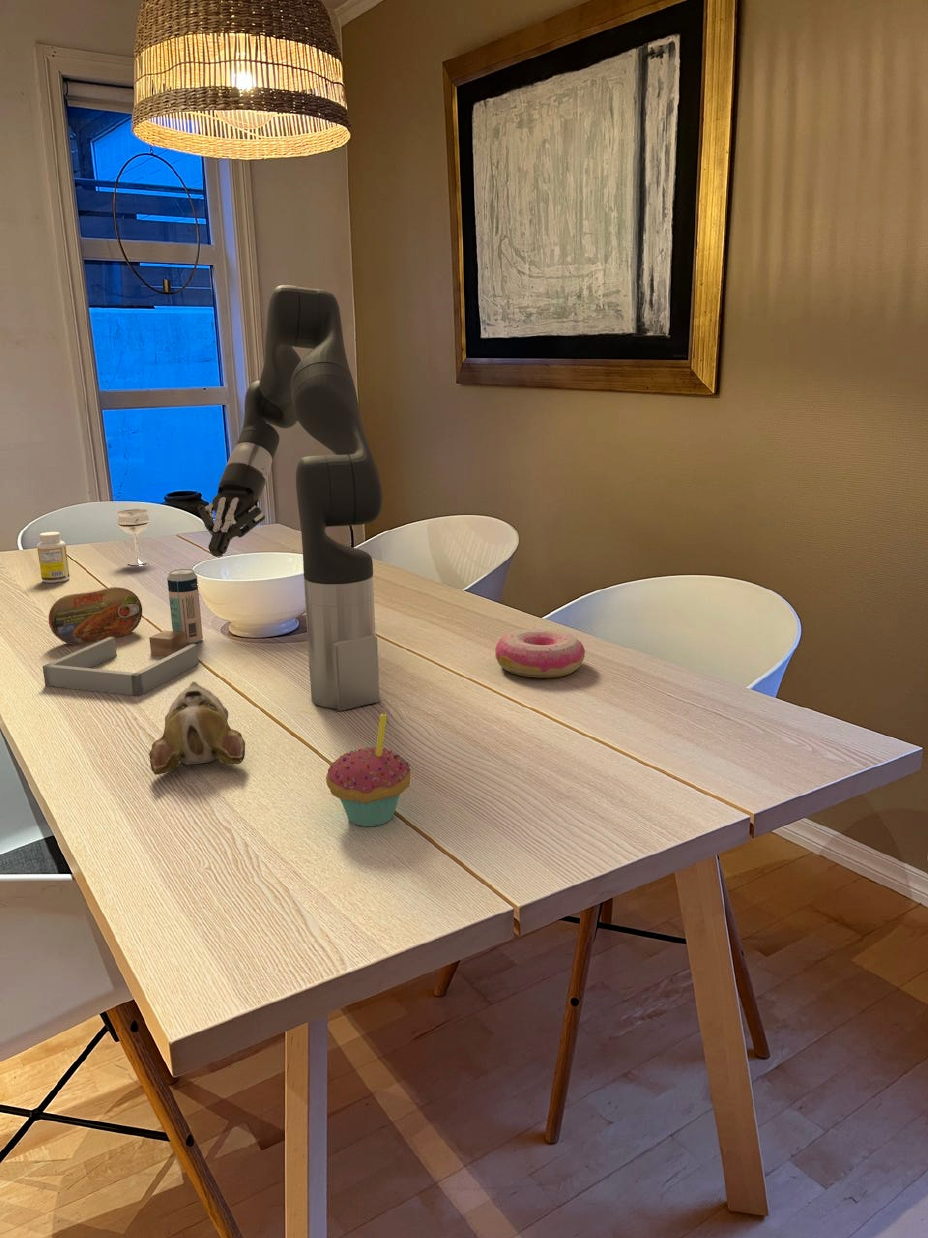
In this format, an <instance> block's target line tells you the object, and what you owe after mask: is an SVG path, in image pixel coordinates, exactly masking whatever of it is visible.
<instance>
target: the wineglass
mask: <svg viewBox="0 0 928 1238" xmlns="http://www.w3.org/2000/svg"><path fill="white" fill-rule="evenodd" d="M148 512H149V510H148V509H146V508H145V509H142V508H136V509H124V510H123V509H122V510H120V511H117V515H118V518H117V523H118V526H119V528H120V529H121V530H122V531H124V532H125V533H127V534H130V535H131V536H132V537H133V542H134V543H133V544H134V548H135V555H136V559H135V560H133V561H130V562H131V563H133V564H142V563H145V562H146V561H147V560H143V559H140V558H139V545H138V543H139V540H138V537H139V535H140V534H141V533H143V532H144V531H145V530H146V529H147V528H148V526H149V524H150V517H149V516H148V515H147V514H148Z"/></svg>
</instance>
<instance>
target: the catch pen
mask: <svg viewBox="0 0 928 1238" xmlns="http://www.w3.org/2000/svg"><path fill="white" fill-rule="evenodd" d="M116 645H117V644H116V637H108V638H106V639H104V640H100V641H96V642H93V643H92V644H90V645H88V646H85V647H83V648H81V649H79V650H76V651H75V652H71V653H70V654H67V655H65V656H63V657H60V658H59V659H56V660H54V661H51V662H49V663H47V664H45V665H42V672H43V680H44V686H45V687H51V686H55V687H54V688H61V687H65V688H64V689H70V688H72V689H71V690H79V689H81V691H87V692H88V691H89V692H91V691H92V692H98V693H109V694H118V695H125V696H126V695H127V696H135V697H136V696H137V697H140V696H142V695H144V694H146V693H148V692H149V691H152V690H153V689H155V688H157V687H158V686H160V685H162V684H164V683H165V682H167V681H169V680H172V679H173V678H175V677H176V676H178V675H181V674H182V673H184V672H186V671H187V670H189V669H190V668H193V667H194V666H196V665H198V664H199V663H200V662H199V651H198V644H196V643H195V644H191V645H187V647H185V648H183V649H181V650H179V651H177V652H175V653H173V654H171V655H169V656H165V657H163V658H162V659H159V660H158V661H156V662H154V663H152V664H150V665H147V666H146V667H144V668H142V669H141V670H138V671H137V672H128V671H119V670H109V669H100V668H93V667H96V666H97V665H99V664H102V663H104V662H106V661H108V660H110V659H113V658H114V657H116V656H118V655H117V654H118V653H117V646H116Z"/></svg>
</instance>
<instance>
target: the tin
mask: <svg viewBox="0 0 928 1238" xmlns="http://www.w3.org/2000/svg"><path fill="white" fill-rule="evenodd" d="M142 616H143V605H142V601H141V600H140V598H139V596H138V595H136V593H135V592H133V591H132V590H130V589H127V588H124V587H119V586H118V587H116V586H114V587H112V586H111V587H106V588H100V589H96V590H90V591H85V592H80V593H78V592H77V593H72V594H68V595H64V596H62V597H60V598H59V599H57V600H56V601H55V602H54V603H53V605H52V606H51V608H50V610H49V613H48V625H49V628H50V630H51V632H52V634H54V636H56V638H58V639H59V640H60V641H61V642H64V643H65V644H67V645H70V646H71V645H72V646H81V645H87V644H91V643H96V642H99V641H101V640H104V639H106V638H108V637H115V638H120V637H123V636H126V635H129V634H130V633H132V632H133V631H134V630H136V628H137V627H138V626H139V625H140V623H141V620H142V618H143V617H142ZM90 642H91V643H90ZM80 644H81V645H80Z"/></svg>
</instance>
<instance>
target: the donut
mask: <svg viewBox="0 0 928 1238" xmlns="http://www.w3.org/2000/svg"><path fill="white" fill-rule="evenodd" d="M585 651H586V650H585V647H584V645H583V643H582V641H580V639H578V638H577V637H576V636H574V635H572V634H570V633H568V632H563V631H559V630H553V629H538V628H535V629H533V628H531V629H530V628H529V629H519V630H515V631H510V632H508V633H506V634H505V635H503V636H502V637H501V638H500V639H499V640H498V641H497V644H496V646H495V651H494V652H495V659H496V661H497V663H498V664H499V666H500V667H502V668H503V669H504V670H505V671H507V672H508V673H511V674H514V675H517V676H522V677H527V678H538V679H548V678H549V679H551V678H559V677H564V676H567V675H570V674H571V673H574V672H575V671H577V670H578V669H579V668H580V667H581V666H582V664H583V662H584V659H585V657H586V656H585V654H586V653H585Z"/></svg>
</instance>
